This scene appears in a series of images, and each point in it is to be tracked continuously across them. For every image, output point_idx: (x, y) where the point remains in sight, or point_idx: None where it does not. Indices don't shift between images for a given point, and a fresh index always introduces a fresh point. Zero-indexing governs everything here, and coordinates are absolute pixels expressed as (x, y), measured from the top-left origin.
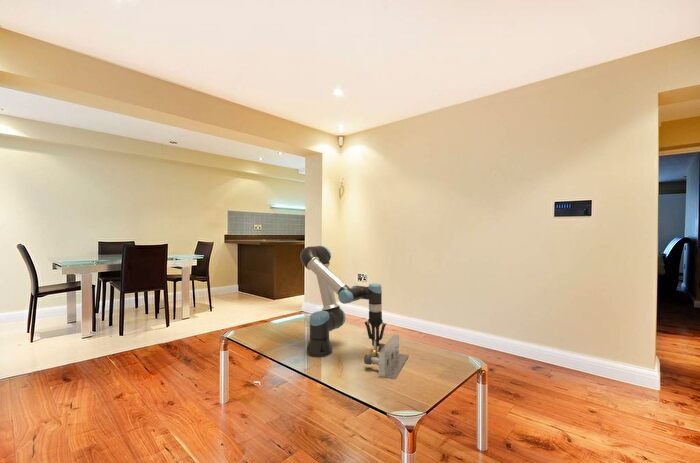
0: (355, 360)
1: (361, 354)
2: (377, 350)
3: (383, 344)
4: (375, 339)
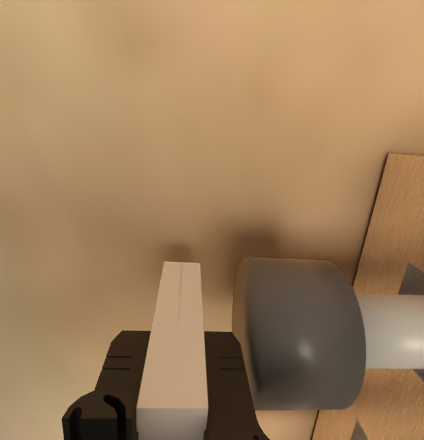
0: (27, 404)
1: (5, 261)
2: (199, 267)
3: (342, 398)
4: (152, 416)
